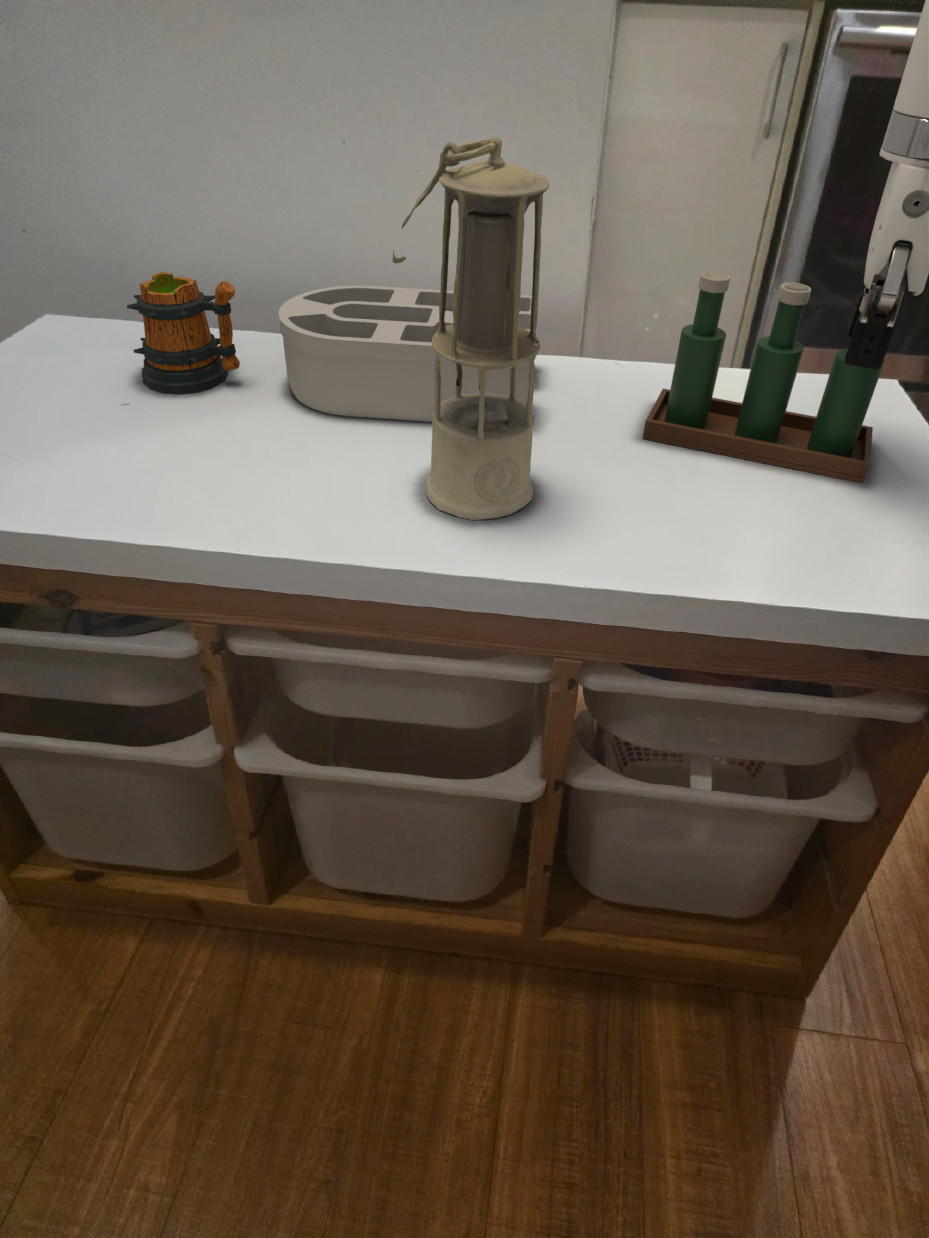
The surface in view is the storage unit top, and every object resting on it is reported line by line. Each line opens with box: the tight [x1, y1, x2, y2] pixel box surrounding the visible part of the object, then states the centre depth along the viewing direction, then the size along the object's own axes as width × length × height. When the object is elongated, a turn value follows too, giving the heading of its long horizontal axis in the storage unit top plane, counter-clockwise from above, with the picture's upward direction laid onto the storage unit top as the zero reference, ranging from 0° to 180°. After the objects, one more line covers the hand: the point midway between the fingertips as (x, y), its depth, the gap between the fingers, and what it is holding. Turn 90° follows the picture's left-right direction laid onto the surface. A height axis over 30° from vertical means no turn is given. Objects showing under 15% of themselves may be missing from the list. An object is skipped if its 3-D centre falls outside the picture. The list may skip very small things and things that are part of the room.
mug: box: [126, 271, 241, 395], centre depth 96 cm, size 13×10×12 cm
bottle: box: [807, 294, 885, 458], centre depth 83 cm, size 4×4×16 cm
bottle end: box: [665, 270, 731, 429], centre depth 87 cm, size 4×4×16 cm
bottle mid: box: [735, 282, 812, 443], centre depth 85 cm, size 4×4×16 cm
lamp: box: [391, 136, 550, 521], centre depth 72 cm, size 10×13×30 cm
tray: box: [642, 388, 874, 484], centre depth 90 cm, size 22×9×2 cm, turn 68°
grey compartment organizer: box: [278, 284, 540, 423], centre depth 96 cm, size 17×28×9 cm, turn 84°
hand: (863, 350), depth 81 cm, fingers open, 6 cm apart
